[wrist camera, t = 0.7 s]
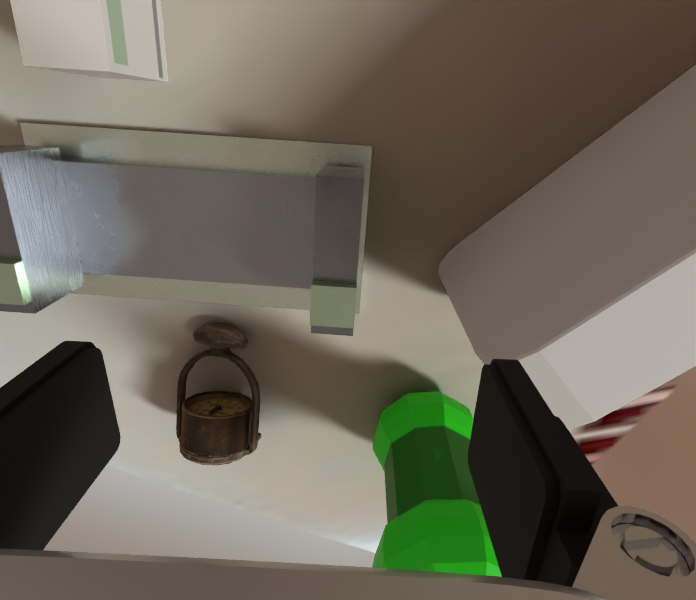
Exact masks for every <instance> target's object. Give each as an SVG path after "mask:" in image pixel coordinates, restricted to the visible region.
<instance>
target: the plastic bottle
mask: <svg viewBox="0 0 696 600" xmlns="http://www.w3.org/2000/svg"><path fill="white" fill-rule="evenodd" d="M472 425H473V417H472V415H471V412H470V410H469V409H468V408H467V407H465V406H464V405H463V404H461V403H459V402H457V401H455V400H453V399H452V398H450V397H448V396H446V395H444V394H442V393H440V392H439V391H434V392H417V393H407V394H405V395H404V396H403V397H401V398H400V399H398V400H397V401H395V402H394V403H392V404H391V405H389V406H388V407H387V408H385V409H384V410H383V412H382V413H381V415H380V419H379V422H378V425H377V428H376V432H375V435H374V438H373V451H374V452H375V454H376V456H377V458H378V460H379V462H380V464H381V466H382V468H383V470H384V472H385V486H386V503H387V521H388V524H387V525H386V526H385V529H384V532H383V535H382V537H381V540H380V543H379V546H378V548H377V551H376V554H375V557H374V562H373V567H372V568H387V569H405V570H419V571H432V572H446V573H459V574H472V575H485V576H498V577H502V575H501V572H500V569H499V566H498V562H497V559H496V556H495V552H494V549H493V546H492V542H491V539H490V536H489V532H488V529H487V526H486V522H485V519H484V516H483V513H482V509H481V506H480V503H479V499H478V496H477V493H476V489H475V486H474V483H473V479H472V476H471V473H470V469H469V465H468V448H469V443H470V437H471V431H472Z"/></svg>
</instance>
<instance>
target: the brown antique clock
mask: <svg viewBox="0 0 696 600" xmlns="http://www.w3.org/2000/svg"><path fill="white" fill-rule="evenodd" d="M193 337H194V339H195V341H197V342H199V343H203V344H206V345H210V346H211V349H210V350H206V351H203V352H201V353H199V354H196V355H195V356H194V357H192V358H191V359H190V360H189V361H188V362H187V363H186V365H185V366H184V368H183V370H182V371H181V373H180V376H179V380H178V388H177V426H176V430H177V437H178V439H179V442H180V452H181V454H182V455H183V456H184V458H186V459H188V460H190V461H192V462H195V463H199V464H202V465H222V464H229V463H231V462H233V461H236V460H239V459H241V458H242V457H243V456H245V455H248V454H250V453H252V452H254V451H255V450H256V448H257V444H258V440H259V439H260V438H261V433H258V427H259V413H260V391H259V386H258V382H257V380H256V378H255V376H254V374H253V372H252V371H251V369H250V368H249V367H248V365H247V364H246V363H245V362H244V361H243V360H242V359H241V358H240V357H238V356H237V355H235V354H234V353H232V352H231V351H230V348H245V347H247V345H248V340H247V338H246V336H245V335H244V334H243V333H242V332H240V331H239V330H237V329H236V328H234V327H233V326H231V325H227V324H221V323H213V324H207V325H205V326H202V327H200V328H198V329H197V330H196V331H195V332H194V334H193ZM211 355H212V356H219V357H223V358H226V359H229V360H230V361H232V362H233V363H235V364H236V365H237V366H238V367H239V368H240V369H241V370H242V371H243V373H244V375H245V376H246V378H247V380H248V382H249V385H250V387H251V391H252V399H250V398H249V397H247V396H245V395H243V394H241V393H234V392H224V391H213V392H203V393H199V394H195V395H193V396H191V397H189V398H187V399H186V400H185V395H186V380H187V375H188V373H189V371H190V369H191V368H192V367H193V365H194V364H195V363H196V362H197V361H198V360H199V359H201V358H202V357H205V356H211Z"/></svg>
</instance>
